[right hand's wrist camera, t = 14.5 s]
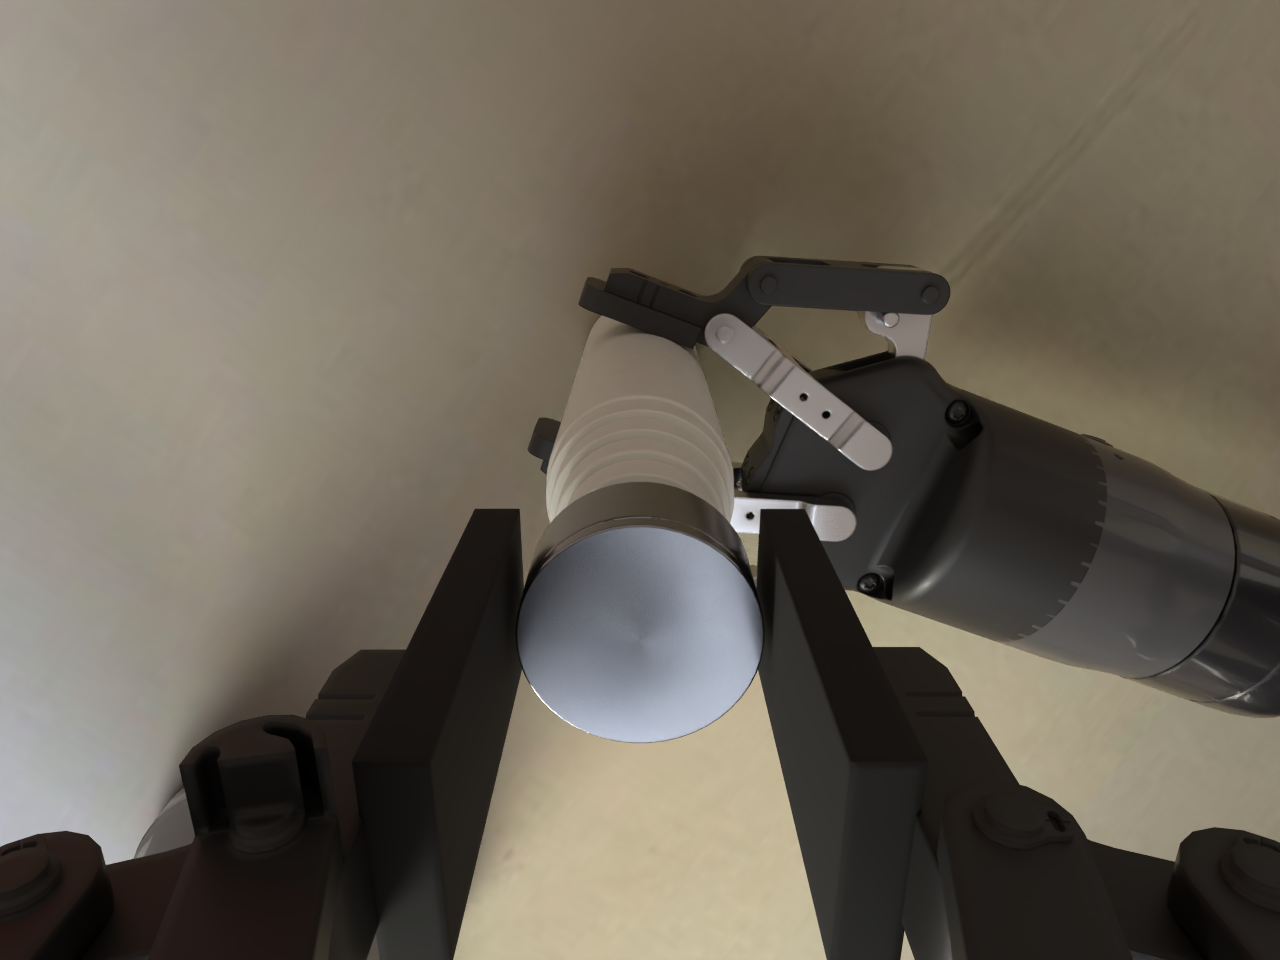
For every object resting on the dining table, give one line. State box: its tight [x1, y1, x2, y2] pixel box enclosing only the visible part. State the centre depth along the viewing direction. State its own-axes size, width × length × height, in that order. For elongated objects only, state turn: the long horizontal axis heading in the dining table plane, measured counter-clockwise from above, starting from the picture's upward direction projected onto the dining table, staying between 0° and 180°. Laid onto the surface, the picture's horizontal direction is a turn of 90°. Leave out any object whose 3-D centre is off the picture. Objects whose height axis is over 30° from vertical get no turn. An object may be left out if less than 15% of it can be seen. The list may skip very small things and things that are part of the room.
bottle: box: [546, 316, 735, 523], centre depth 23 cm, size 4×4×21 cm
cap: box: [515, 482, 765, 743], centre depth 14 cm, size 4×4×2 cm
